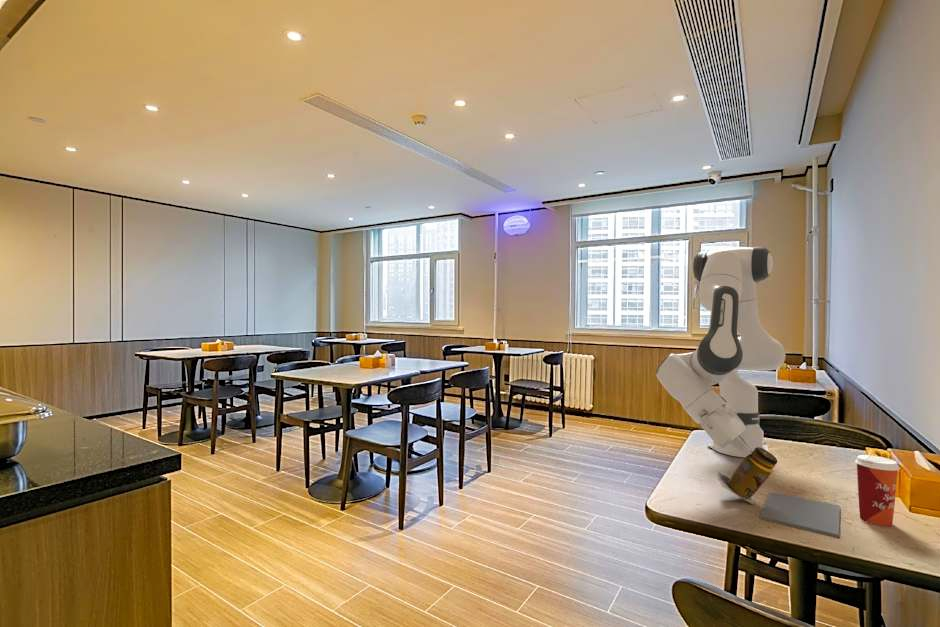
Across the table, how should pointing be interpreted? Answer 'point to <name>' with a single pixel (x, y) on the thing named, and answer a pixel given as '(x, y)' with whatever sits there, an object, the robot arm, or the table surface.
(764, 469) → the condiment
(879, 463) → the paper cup
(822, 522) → the slate mat
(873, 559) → the table surface
